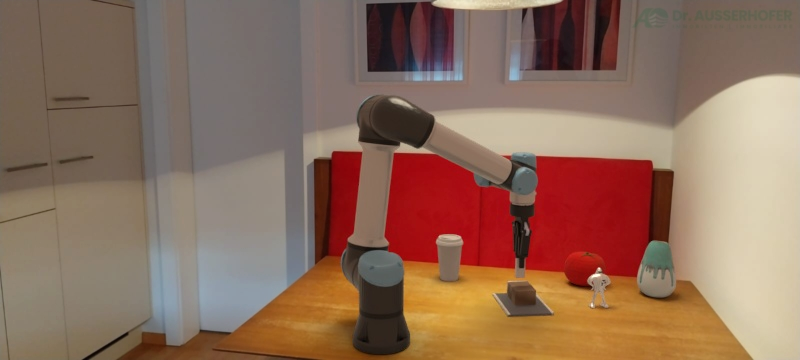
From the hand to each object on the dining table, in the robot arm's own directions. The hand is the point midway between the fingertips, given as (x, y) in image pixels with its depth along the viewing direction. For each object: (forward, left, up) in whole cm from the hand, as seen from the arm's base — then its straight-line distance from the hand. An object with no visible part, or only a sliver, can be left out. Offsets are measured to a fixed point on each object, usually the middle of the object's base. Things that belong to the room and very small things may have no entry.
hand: (519, 277), depth 184 cm
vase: (+2, -46, -8) cm, 47 cm away
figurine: (-6, -23, -8) cm, 25 cm away
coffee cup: (+24, +18, -8) cm, 31 cm away
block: (-5, 0, -5) cm, 7 cm away
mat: (-3, 0, -8) cm, 8 cm away
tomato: (+14, -27, -8) cm, 31 cm away
